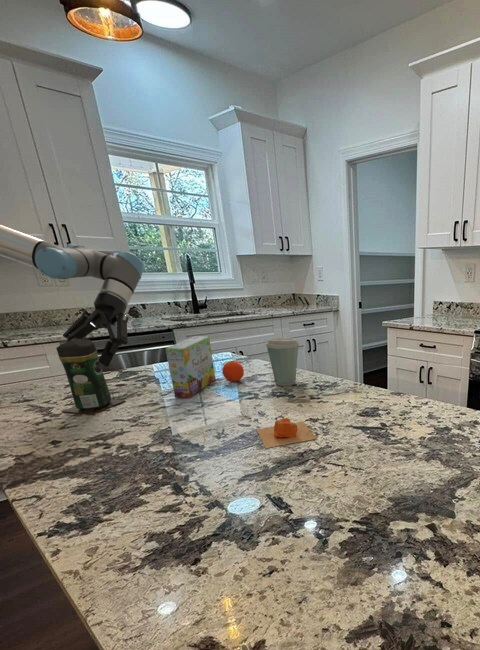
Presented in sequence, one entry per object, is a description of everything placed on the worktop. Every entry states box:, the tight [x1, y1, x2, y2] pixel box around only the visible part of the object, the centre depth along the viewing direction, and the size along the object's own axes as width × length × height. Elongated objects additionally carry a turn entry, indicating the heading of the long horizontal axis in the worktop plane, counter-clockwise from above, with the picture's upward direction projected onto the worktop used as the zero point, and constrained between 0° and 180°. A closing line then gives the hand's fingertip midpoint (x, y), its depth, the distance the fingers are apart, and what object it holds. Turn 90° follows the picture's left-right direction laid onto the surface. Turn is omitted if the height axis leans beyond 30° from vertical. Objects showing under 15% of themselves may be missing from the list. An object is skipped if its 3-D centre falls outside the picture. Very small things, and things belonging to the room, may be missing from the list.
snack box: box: [165, 335, 217, 399], centre depth 133 cm, size 21×6×15 cm, turn 1°
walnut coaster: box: [61, 398, 126, 416], centre depth 120 cm, size 10×12×1 cm
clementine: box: [221, 360, 245, 383], centre depth 142 cm, size 8×7×7 cm
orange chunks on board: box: [256, 417, 318, 449], centre depth 100 cm, size 12×12×4 cm
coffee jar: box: [55, 338, 112, 410], centre depth 116 cm, size 10×8×19 cm
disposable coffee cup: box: [265, 337, 300, 387], centre depth 137 cm, size 11×11×15 cm
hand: (83, 362), depth 115 cm, fingers open, 13 cm apart
